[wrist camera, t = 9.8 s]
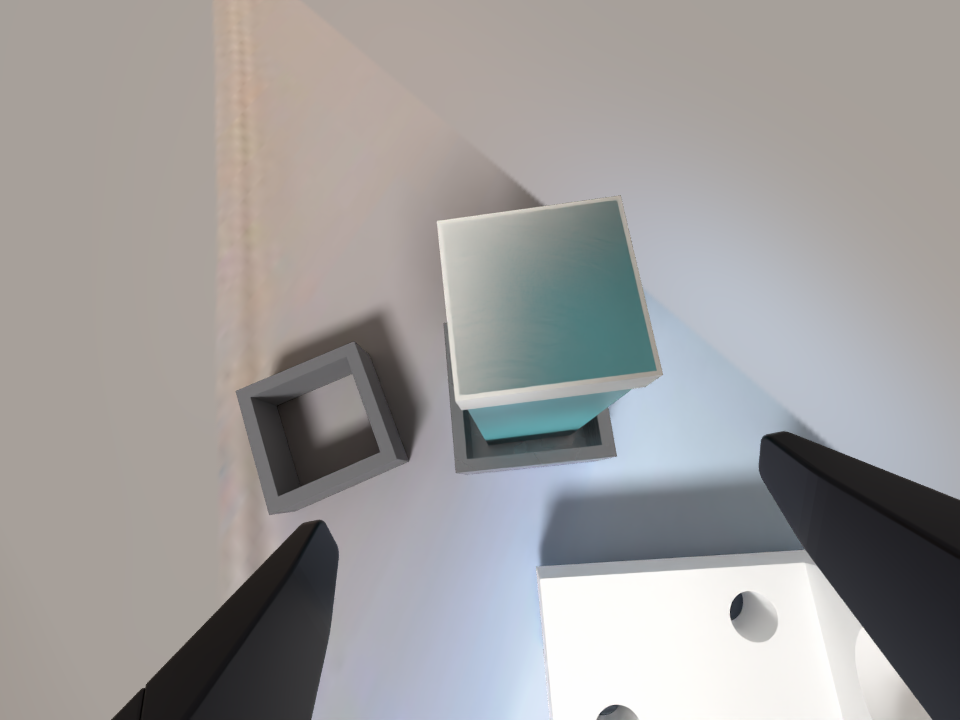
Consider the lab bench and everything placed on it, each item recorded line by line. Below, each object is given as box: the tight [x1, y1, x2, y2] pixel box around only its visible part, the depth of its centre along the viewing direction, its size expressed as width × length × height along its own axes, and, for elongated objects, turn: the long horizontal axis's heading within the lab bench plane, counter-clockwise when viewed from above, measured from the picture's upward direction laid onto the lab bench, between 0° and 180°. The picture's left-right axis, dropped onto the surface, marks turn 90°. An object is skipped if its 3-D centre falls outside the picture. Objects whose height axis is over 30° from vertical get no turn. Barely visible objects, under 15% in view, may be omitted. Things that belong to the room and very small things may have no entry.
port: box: [444, 323, 617, 475], centre depth 21 cm, size 6×6×4 cm
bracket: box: [536, 550, 932, 720], centre depth 16 cm, size 13×7×8 cm, turn 94°
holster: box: [236, 341, 409, 515], centre depth 22 cm, size 6×6×2 cm
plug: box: [437, 196, 663, 445], centre depth 16 cm, size 4×4×13 cm
